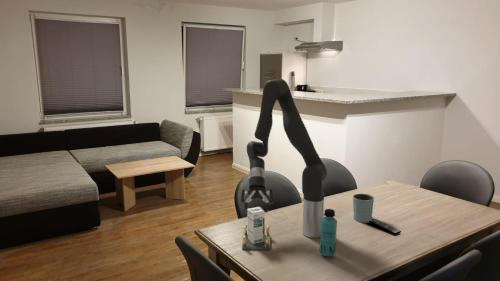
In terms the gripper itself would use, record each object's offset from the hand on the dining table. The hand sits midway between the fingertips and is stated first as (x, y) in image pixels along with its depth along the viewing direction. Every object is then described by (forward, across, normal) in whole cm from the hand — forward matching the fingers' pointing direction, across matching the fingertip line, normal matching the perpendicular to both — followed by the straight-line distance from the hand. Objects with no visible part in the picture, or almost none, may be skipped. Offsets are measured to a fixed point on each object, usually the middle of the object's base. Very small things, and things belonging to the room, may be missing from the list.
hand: (256, 211), depth 163 cm
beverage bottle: (+19, +29, 0) cm, 35 cm away
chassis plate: (+12, 0, +7) cm, 14 cm away
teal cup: (-7, +53, +26) cm, 60 cm away
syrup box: (+11, 0, +7) cm, 13 cm away
